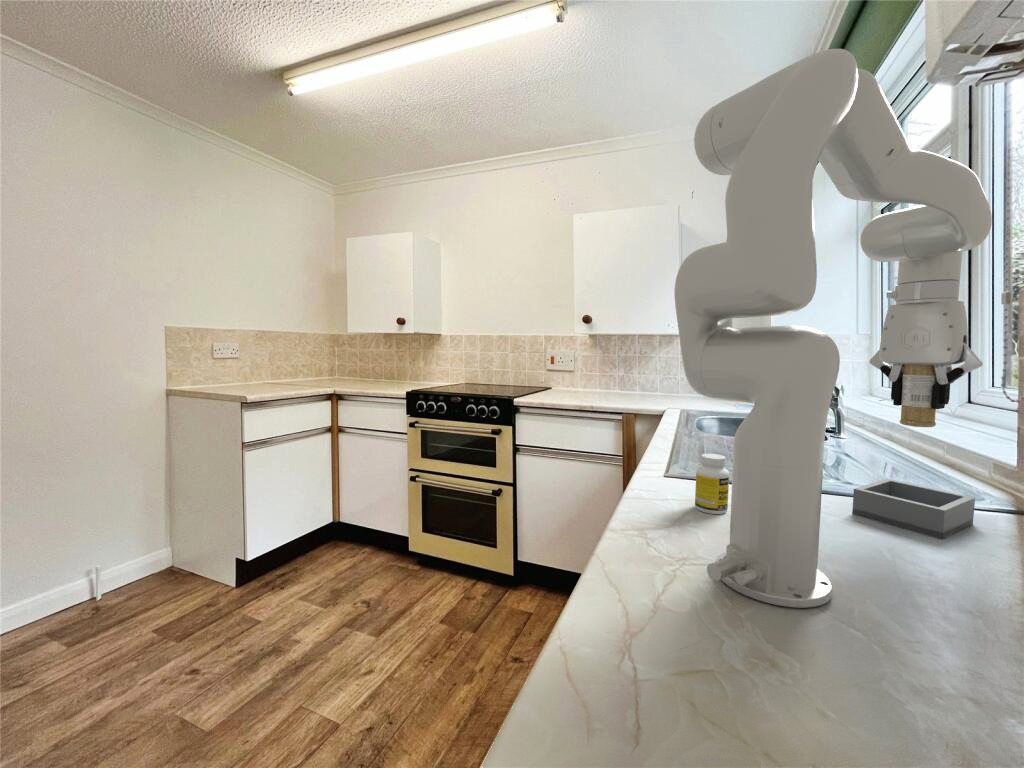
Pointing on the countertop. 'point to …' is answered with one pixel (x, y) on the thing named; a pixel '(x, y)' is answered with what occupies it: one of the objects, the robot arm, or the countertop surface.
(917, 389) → the sprinkles bottle
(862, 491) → the charcoal bin
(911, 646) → the countertop surface
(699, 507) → the supplement bottle
